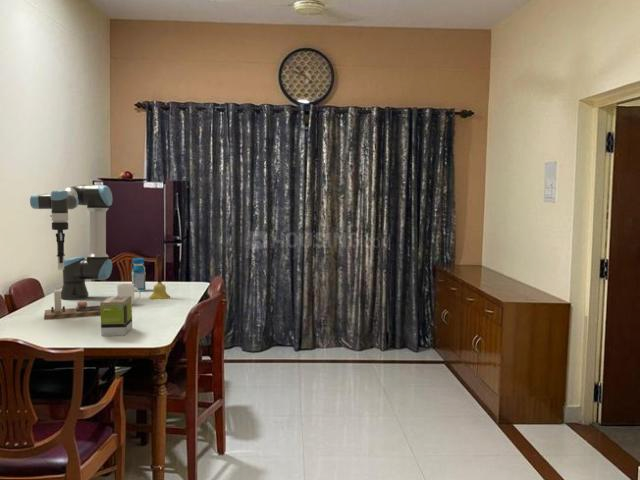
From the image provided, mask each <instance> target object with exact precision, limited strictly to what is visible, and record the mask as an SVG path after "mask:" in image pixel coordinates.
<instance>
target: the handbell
mask: <svg viewBox="0 0 640 480" xmlns="http://www.w3.org/2000/svg"><path fill="white" fill-rule="evenodd" d="M155 264H156V269H157V283H156V284H155V285H154V286H153V292H152V294H151V295H150V296H149V297H148V299H150V300H154V299H161V300H168V298H169V299H171V298H170V297H171V295H169V294H168V293H167V289H166V287H167V286H166V285H165V284H163V282H162V271H163V270H162V269H163V257H162V255H161V254H157V257H156V263H155Z"/></svg>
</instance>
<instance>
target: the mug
mask: <svg viewBox="0 0 640 480" xmlns="http://www.w3.org/2000/svg"><path fill="white" fill-rule="evenodd" d="M116 286H117V291H116V292H117V293H116V295H117V296H131V301H132V305H134V304H135V302H138V301H139V300H140V298H141V291H139V290H138V289H137V288H135V287H134V284H132V283H119V284H117V285H116ZM135 292H138V293H139V294H138V295H139V296H138V298H136V297H135Z"/></svg>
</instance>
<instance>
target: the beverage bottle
mask: <svg viewBox="0 0 640 480" xmlns="http://www.w3.org/2000/svg"><path fill="white" fill-rule="evenodd" d="M144 264H145V258H143V257H135V258H134V257H133V258H132V268H131V284H134V287H135V288H137V289H138V290H139V291H140V292H145V291H146V289H147V288H146V275H147V274H146V273H147V272H146V267H145V265H144Z"/></svg>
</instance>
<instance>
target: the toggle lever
mask: <svg viewBox="0 0 640 480" xmlns="http://www.w3.org/2000/svg"><path fill="white" fill-rule="evenodd" d="M61 290H62V289H54V291H53V293H54V295H53V296H54V297H53V298H54V300H53V301H54V309H55V311H56V310H61V309H62V299H61Z"/></svg>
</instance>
